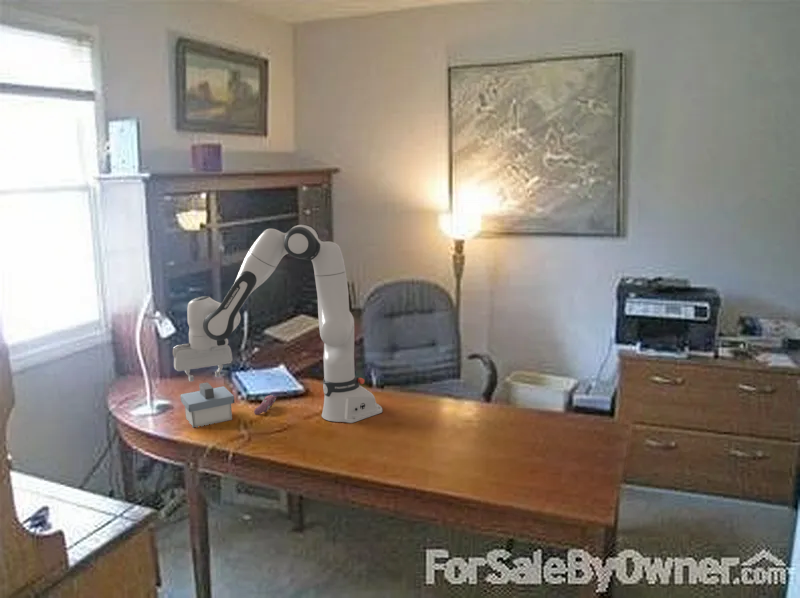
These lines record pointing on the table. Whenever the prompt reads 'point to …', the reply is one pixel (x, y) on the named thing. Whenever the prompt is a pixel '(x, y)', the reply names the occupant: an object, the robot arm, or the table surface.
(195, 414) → the storage box
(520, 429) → the table surface
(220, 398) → the lid
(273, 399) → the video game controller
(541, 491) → the table surface
